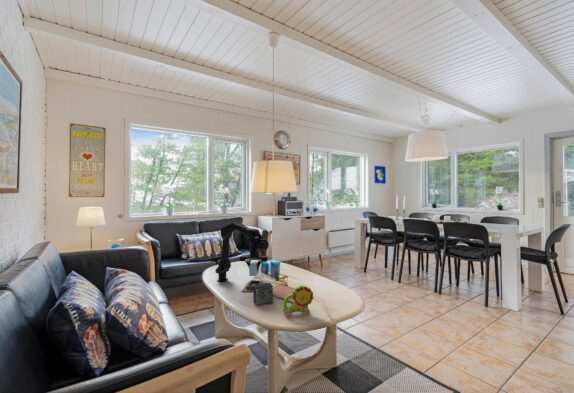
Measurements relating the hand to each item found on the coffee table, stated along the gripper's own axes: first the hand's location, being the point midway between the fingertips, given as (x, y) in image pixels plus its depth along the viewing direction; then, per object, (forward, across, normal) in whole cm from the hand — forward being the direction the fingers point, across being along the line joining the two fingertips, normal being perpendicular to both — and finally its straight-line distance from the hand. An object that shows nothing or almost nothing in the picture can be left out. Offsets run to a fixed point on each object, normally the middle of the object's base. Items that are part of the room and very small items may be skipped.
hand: (254, 271), depth 195 cm
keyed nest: (+11, 0, 0) cm, 11 cm away
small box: (+12, -11, +25) cm, 30 cm away
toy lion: (+11, -33, +39) cm, 52 cm away
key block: (+2, 0, 0) cm, 2 cm away
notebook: (+12, -24, +10) cm, 29 cm away
